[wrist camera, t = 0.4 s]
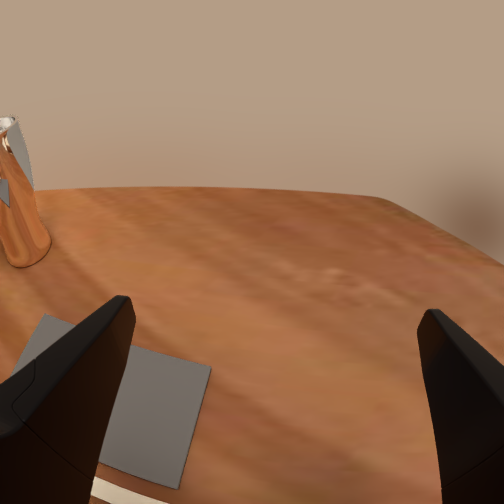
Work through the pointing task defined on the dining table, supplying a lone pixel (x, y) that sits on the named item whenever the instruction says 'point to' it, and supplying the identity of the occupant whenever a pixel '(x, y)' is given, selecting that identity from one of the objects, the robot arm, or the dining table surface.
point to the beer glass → (19, 200)
